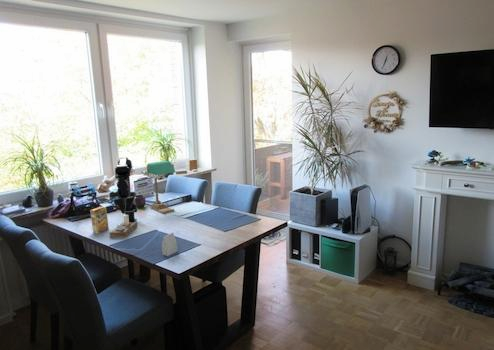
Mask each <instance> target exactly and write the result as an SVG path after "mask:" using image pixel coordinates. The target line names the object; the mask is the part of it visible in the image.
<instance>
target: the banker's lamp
mask: <svg viewBox="0 0 494 350" xmlns="http://www.w3.org/2000/svg"><path fill="white" fill-rule="evenodd" d="M146 173H147V174H146V176H147V177H148V178H151V179H152V178H154V182H153V183H154V193H155V200H154V202H153V203H152V204H151V206H150V209H151V210H153V211H155V212H158V213H161V214H163V215H164V214H170V213H173V212H175V208H171V207H169V206H167V205H166V204H165V203H162V201H161V200H160V199H159V193H158V192H159V191H158V178H160V177H163V176H166V175H167V174H174V173H176V170H175V168H174V165H173V164H172V162H171V161H169V160H161V161H154V162H148V163H147V164H146ZM149 174H150V175H149ZM151 175H154V176H151ZM155 176H156V177H155Z"/></svg>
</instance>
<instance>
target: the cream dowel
mask: <svg viewBox="0 0 494 350" xmlns="http://www.w3.org/2000/svg"><path fill="white" fill-rule="evenodd" d="M122 217H123V223H124V226H129V216H128V215H125V214H123V216H122Z"/></svg>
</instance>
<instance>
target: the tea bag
mask: <svg viewBox="0 0 494 350" xmlns="http://www.w3.org/2000/svg"><path fill="white" fill-rule="evenodd" d="M177 243H178V242H177V239H176V237H175V234H174V232H171V233H169V234H166V235H164V236H163V239H162V241H161V251H162V256H166V257H169V256H171V255H173V254H175V253H177V252H178V245H177Z"/></svg>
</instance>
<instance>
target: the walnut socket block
mask: <svg viewBox="0 0 494 350" xmlns="http://www.w3.org/2000/svg"><path fill="white" fill-rule="evenodd" d="M137 223H138V222H132V223H129V226H124V222H121V224H122V225H123V231H118V228H117V226H116V227H115V228H114V229H113V230H111V231H110V232H109V237H110V238H109V239H113V238H115V239H117V238H118V239H119V238H121V239H122V238H124V239H125V238H126V237H128V236H129V235H130V234H131V233H133V231H135V230H136V229H137V227H138V225H137Z"/></svg>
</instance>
